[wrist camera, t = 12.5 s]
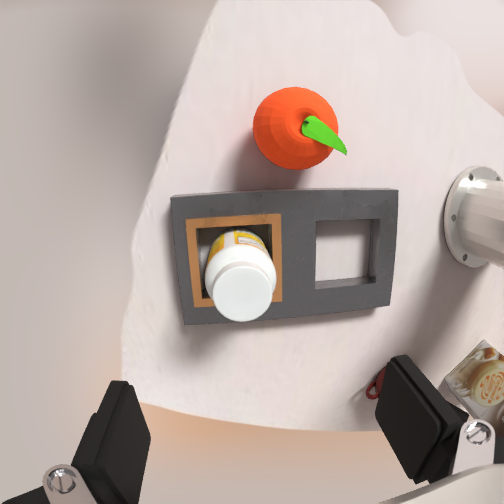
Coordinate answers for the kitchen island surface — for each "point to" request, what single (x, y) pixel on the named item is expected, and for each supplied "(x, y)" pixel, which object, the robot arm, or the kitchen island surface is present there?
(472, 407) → the coffee box
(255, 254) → the supplement bottle
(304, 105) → the clementine
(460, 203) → the robot arm
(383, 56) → the kitchen island surface
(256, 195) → the two-pocket grey tray
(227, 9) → the kitchen island surface
